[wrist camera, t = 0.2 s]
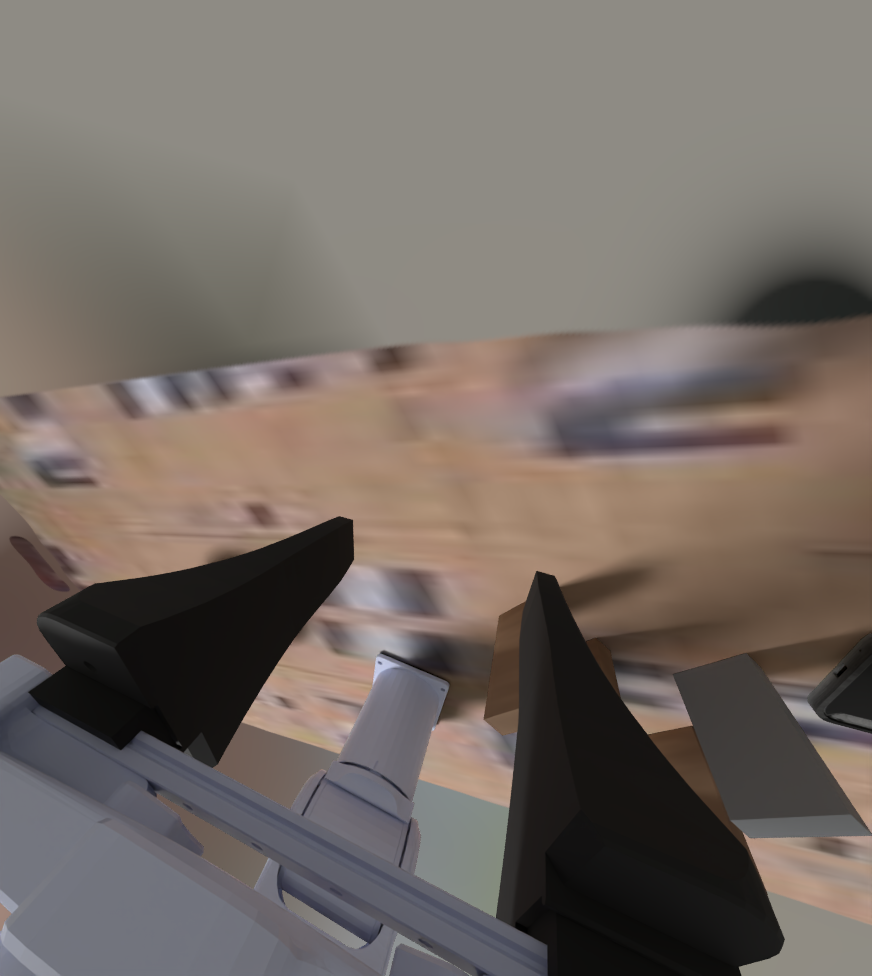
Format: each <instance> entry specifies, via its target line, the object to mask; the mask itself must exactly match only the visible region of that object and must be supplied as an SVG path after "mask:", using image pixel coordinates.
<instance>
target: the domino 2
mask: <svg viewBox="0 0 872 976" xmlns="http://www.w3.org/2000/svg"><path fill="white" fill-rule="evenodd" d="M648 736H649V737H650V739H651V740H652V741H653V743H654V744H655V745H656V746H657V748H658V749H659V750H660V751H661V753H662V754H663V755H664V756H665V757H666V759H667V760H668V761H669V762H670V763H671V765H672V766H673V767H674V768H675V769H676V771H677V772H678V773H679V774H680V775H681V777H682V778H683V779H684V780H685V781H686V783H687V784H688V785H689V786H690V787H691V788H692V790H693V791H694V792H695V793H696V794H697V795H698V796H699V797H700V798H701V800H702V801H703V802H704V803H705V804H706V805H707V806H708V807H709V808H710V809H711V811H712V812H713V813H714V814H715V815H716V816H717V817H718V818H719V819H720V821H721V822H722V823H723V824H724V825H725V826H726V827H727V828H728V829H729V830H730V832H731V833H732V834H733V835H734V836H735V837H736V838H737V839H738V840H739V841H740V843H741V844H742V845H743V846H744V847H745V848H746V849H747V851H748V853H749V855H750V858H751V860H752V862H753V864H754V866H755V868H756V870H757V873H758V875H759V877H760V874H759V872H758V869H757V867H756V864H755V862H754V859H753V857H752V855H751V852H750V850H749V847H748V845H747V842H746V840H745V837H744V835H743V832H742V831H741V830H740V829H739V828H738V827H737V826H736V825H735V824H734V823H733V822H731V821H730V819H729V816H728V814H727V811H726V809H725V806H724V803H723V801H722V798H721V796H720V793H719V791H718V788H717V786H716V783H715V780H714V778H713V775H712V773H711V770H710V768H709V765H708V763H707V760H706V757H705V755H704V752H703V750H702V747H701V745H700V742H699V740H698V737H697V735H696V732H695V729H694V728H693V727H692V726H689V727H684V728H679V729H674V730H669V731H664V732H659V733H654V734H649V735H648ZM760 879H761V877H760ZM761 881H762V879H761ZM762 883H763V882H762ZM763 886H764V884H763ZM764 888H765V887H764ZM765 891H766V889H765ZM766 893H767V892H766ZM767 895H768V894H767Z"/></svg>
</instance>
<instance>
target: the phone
mask: <svg viewBox="0 0 872 976" xmlns="http://www.w3.org/2000/svg"><path fill="white" fill-rule="evenodd" d="M859 650H861V652H860V651H859ZM845 665H846V666H847V668H848V669H847V670H846V671H845V672H844V673H843V674H842V675H841V676H840V677H838V675H837V673H838V672H839V671H840V670H841V669H842V668H843V667H844V666H845ZM807 700H808V703H809V704H810V706H811V707H812V708H813V710H814V711H815V712H816V714H817V715H818V716H819V717H820V718H821V719H823V720H825V721H827V722H830V723H834V724H838V725H841V726H845V727H849V728H853V729H856V730H860V731H864V732H868V733H871V734H872V633H871V634H868V635H866V636H865V637H864V638H862V639H861V640H860V641H859V642H858V643H857V645H856V646H855V647H854V648H853V649H852V650H851V651H850V652H849V653H848V654H847V655H846V656H845V657H844V658H843V659H842V660H841V661H840V663H839V664H838V665H837V666H836V667H835V668H834V669H833V670H832V671H831V672H830V673H829V674H828V675H827V676H826V677H825V678H824V679H823V681H822V682H821V683H820V684H819V685H818V686H817V687H816V688H815V689H814V690H813V691H812V692H811V693H810V694H809V696H808V698H807Z"/></svg>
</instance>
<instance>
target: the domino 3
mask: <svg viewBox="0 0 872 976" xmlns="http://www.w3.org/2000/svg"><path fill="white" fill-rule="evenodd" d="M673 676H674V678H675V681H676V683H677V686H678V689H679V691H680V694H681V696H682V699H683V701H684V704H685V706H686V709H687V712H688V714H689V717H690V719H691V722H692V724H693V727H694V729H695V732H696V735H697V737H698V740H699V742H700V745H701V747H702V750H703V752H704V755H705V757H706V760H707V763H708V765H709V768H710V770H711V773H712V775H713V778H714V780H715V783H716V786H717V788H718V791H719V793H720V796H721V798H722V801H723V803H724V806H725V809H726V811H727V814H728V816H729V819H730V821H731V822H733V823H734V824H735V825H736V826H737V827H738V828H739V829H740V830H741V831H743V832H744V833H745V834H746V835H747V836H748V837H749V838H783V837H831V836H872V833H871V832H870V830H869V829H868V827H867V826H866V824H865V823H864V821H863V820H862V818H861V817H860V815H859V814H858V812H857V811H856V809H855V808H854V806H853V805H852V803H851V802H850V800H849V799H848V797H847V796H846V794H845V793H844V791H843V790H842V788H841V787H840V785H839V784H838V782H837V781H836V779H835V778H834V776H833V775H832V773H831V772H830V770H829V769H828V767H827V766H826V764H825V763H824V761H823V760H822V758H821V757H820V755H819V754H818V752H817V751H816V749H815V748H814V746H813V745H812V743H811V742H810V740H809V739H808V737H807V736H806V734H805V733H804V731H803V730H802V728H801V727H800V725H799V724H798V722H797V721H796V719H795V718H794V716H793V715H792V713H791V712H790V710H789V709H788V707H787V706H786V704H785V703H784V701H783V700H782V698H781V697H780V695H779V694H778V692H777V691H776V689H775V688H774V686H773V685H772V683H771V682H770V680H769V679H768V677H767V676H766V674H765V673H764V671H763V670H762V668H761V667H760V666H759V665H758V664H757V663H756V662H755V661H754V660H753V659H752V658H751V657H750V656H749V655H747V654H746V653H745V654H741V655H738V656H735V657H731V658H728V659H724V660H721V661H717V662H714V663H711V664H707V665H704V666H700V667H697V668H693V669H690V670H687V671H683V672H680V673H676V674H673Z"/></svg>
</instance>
